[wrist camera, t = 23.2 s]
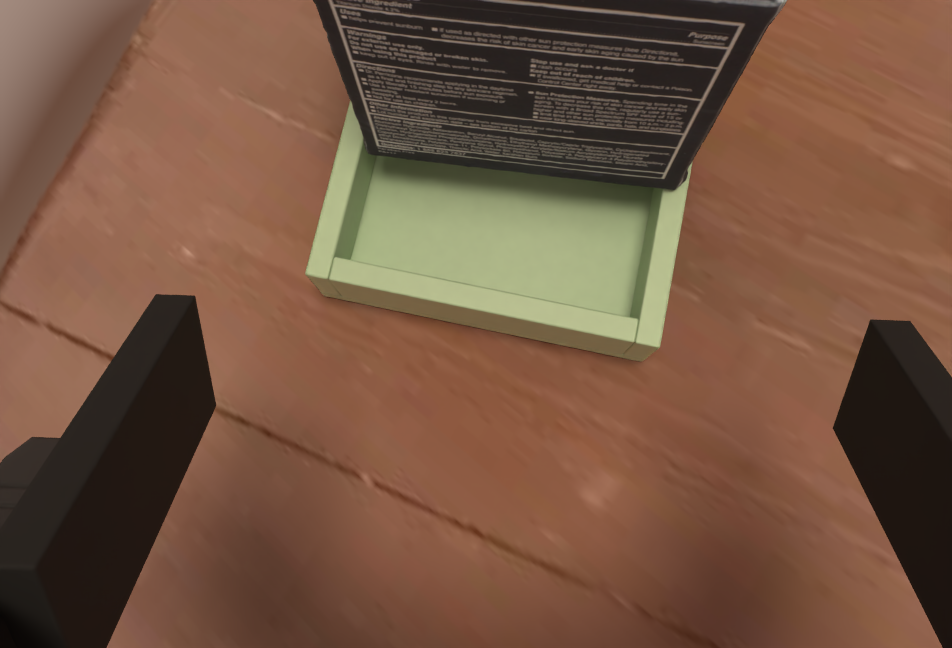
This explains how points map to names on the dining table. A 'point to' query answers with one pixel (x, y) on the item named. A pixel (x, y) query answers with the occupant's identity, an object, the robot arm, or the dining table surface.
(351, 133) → the tray
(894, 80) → the dining table surface
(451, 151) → the small box
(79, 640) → the robot arm
